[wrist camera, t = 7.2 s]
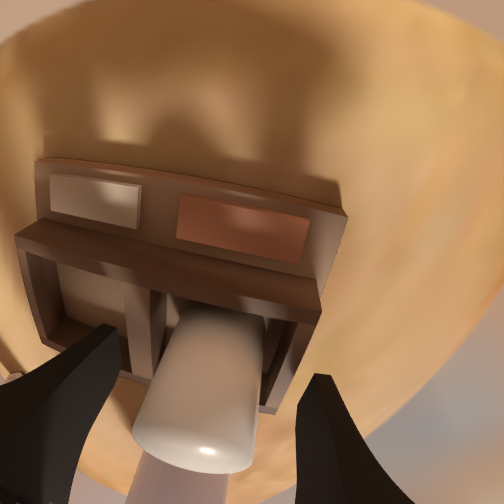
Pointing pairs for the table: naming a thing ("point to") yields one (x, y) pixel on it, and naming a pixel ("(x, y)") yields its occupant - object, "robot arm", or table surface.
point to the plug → (205, 392)
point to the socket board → (173, 261)
